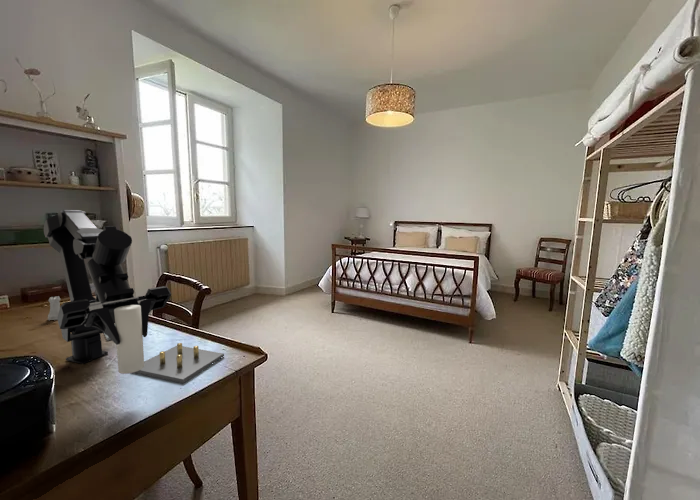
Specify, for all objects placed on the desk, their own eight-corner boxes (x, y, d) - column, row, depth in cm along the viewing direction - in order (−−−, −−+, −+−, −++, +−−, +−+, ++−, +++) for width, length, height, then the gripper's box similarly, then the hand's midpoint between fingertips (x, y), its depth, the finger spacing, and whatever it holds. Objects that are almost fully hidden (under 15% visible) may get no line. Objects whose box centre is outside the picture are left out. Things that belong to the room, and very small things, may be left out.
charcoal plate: (130, 371, 75) (129, 356, 74) (177, 348, 88) (177, 335, 88) (183, 383, 70) (182, 367, 70) (224, 356, 84) (223, 343, 83)
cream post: (113, 371, 62) (108, 309, 60) (133, 361, 66) (130, 303, 65) (129, 375, 61) (125, 312, 59) (149, 365, 65) (146, 306, 63)
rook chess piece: (52, 317, 111) (50, 295, 110) (67, 316, 113) (65, 295, 112) (44, 321, 107) (42, 299, 106) (60, 320, 108) (58, 298, 107)
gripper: (147, 291, 78) (169, 344, 73) (46, 308, 63) (65, 376, 58) (159, 265, 73) (184, 319, 68) (53, 276, 58) (74, 348, 53)
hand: (132, 339), depth 62 cm, fingers closed on cream post, 4 cm apart
